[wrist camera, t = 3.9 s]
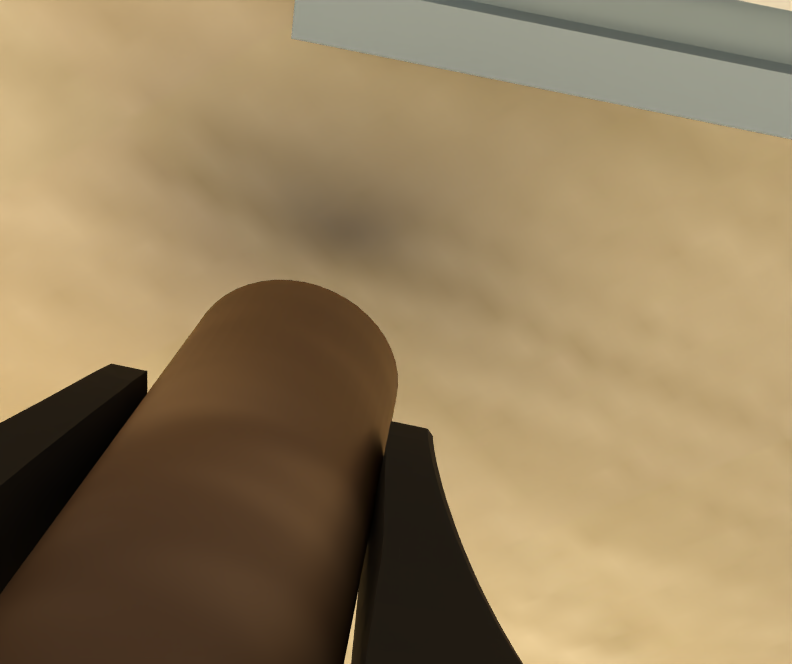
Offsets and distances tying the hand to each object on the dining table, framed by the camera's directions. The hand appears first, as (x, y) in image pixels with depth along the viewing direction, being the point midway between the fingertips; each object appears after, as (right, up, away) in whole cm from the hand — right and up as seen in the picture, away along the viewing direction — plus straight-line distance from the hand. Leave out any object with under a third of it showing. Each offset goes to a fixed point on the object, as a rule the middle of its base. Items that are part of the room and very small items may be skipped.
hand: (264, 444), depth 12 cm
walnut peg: (0, +1, +2) cm, 2 cm away
